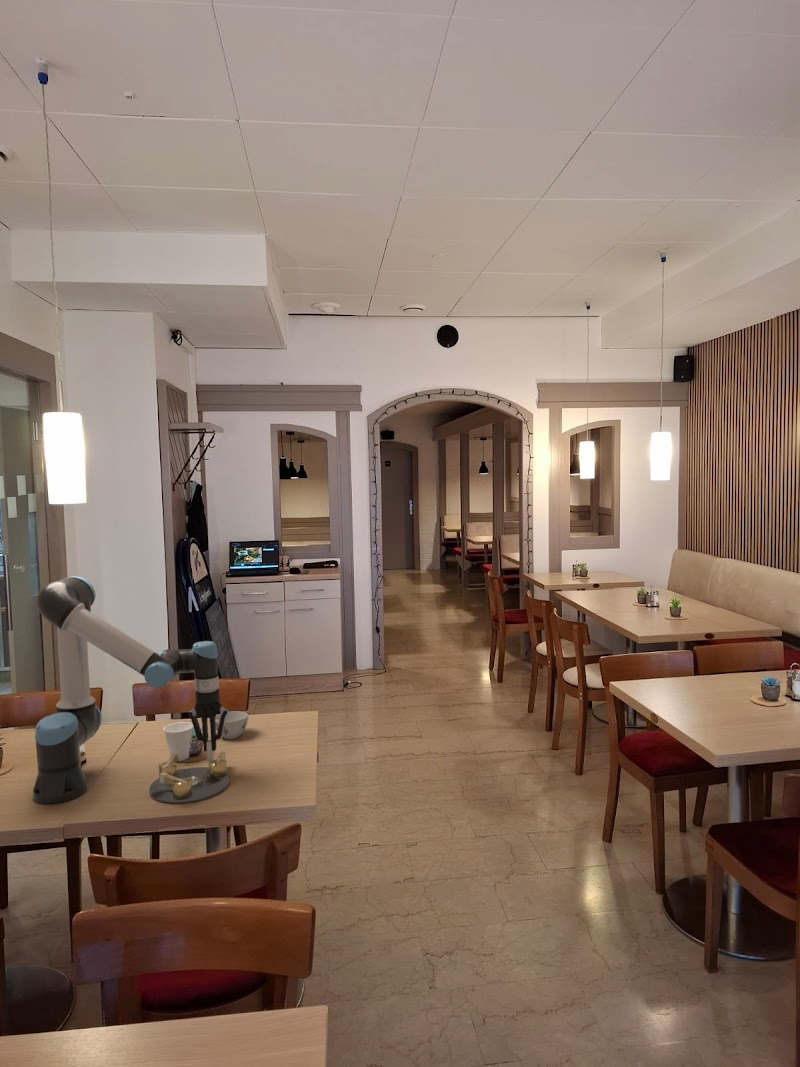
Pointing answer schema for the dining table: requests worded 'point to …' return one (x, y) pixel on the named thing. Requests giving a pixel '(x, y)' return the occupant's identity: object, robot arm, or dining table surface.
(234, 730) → the teacup
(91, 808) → the dining table surface
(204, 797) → the plate
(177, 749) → the cup
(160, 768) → the knob left
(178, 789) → the knob front
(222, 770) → the knob right
